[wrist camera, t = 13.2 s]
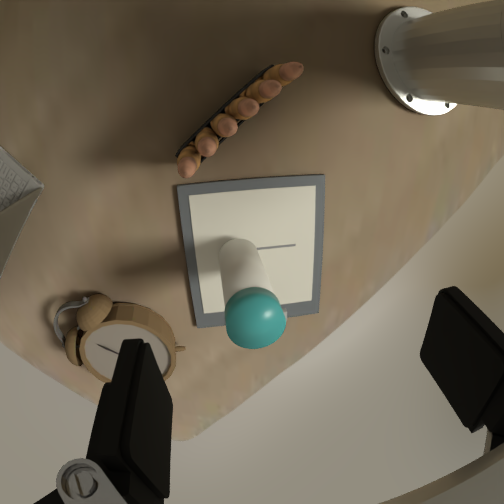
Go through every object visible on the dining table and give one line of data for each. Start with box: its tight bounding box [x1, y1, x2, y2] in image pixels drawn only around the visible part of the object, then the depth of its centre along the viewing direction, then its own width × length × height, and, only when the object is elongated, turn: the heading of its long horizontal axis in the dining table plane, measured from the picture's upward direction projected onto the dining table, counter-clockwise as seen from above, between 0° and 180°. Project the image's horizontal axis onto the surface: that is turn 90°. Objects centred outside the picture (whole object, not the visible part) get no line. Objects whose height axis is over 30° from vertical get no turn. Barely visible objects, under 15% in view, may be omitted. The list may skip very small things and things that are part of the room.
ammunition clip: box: [175, 62, 304, 178], centre depth 22 cm, size 11×2×12 cm, turn 134°
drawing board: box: [177, 174, 325, 328], centre depth 33 cm, size 14×16×1 cm
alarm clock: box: [54, 294, 186, 383], centre depth 33 cm, size 11×5×15 cm
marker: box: [219, 239, 286, 349], centre depth 27 cm, size 4×4×12 cm
